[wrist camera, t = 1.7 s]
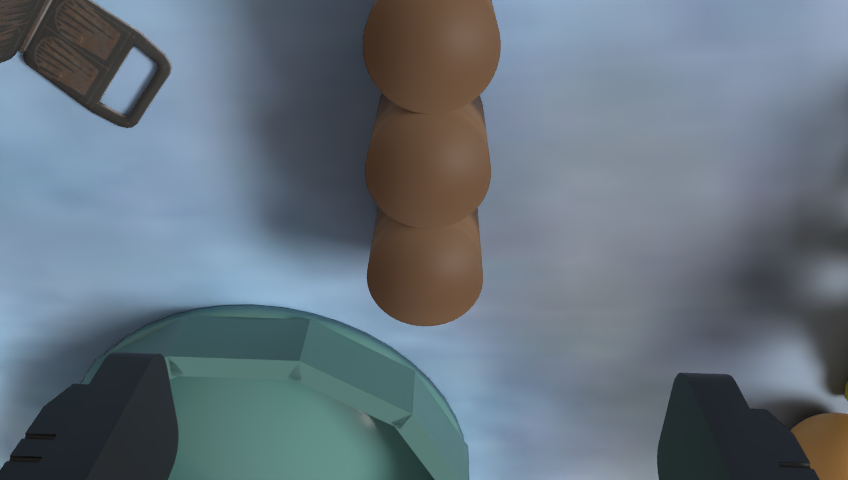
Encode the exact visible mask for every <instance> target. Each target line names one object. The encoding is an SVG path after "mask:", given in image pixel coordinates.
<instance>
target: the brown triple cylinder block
mask: <svg viewBox="0 0 848 480" xmlns="http://www.w3.org/2000/svg"><path fill="white" fill-rule="evenodd" d="M500 45H501V42H500V33H499V29H498V25H497V21H496V17H495V13H494V9H493V5H492V0H375V1H374V4H373V7H372V10H371V12H370V15H369V18H368V20H367V24H366V27H365V30H364V36H363V56H364V60H365V65H366V67H367V70H368V73H369V75H370V77H371V79H372V81H373V82H374V84H375V85H376V86H377V88H378V89H379V90H380V91H381V92H382V93H383V94H382V96H381V99H380V102H379V105H378V110H377V114H376V119H375V123H374V128H373V132H372V137H371V141H370V145H369V150H368V154H367V159H366V164H365V178H366V183H367V187H368V190H369V192H370V194H371V196H372V198H373V200H374V201H375V203H376V204H377V205H378V210H377V216H376V222H375V228H374V234H373V240H372V246H371V252H370V258H369V264H368V270H367V284H368V288H369V291H370V293H371V296H372V298H373V299H374V301H375V302H376V304H377V305H378V306H379V307H380V308H381V309H382V310H383V311H384V312H385V313H387V314H388V315H389V316H391V317H393V318H395V319H396V320H399V321H401V322H404V323H407V324H411V325H416V326H435V325H440V324H445V323H448V322H450V321H453V320H455V319H457V318H459V317H460V316H462V315H463V314H465V313H466V312H467V311H468V310H469V309H470V308H471V307H472V306H473V305H474V303H475V302H476V300H477V299H478V297H479V295H480V292H481V289H482V283H483V271H482V259H481V247H480V234H479V222H478V210H477V207H478V206H479V205H480V204H481V202H482V201H483V199H484V197H485V195H486V193H487V191H488V188H489V184H490V179H491V165H490V157H489V150H488V142H487V134H486V126H485V119H484V111H483V105H482V101H481V98H480V96H479V95H480V94H481V93H482V92H483V91H484V90H485V88H486V87H487V86H488V84H489V83H490V81H491V80H492V78H493V76H494V74H495V71H496V69H497V66H498V62H499V57H500Z"/></svg>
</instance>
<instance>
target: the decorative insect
mask: <svg viewBox="0 0 848 480" xmlns="http://www.w3.org/2000/svg"><path fill="white" fill-rule="evenodd" d="M845 398H846V399H847V401H848V381H847V384H846V387H845Z"/></svg>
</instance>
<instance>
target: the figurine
mask: <svg viewBox="0 0 848 480" xmlns="http://www.w3.org/2000/svg"><path fill="white" fill-rule="evenodd" d="M790 431H791V432H792V433H793V434H794V435H795V437H796V439H797V440H798V442H799V444H800V446H801V447H802V449H803V451H804V453H805V454H806V456H807V458H808V460H809V461H810V467H811V469H814V470H815V472H816V474H817V475H818V477H819V479H820V480H848V414H843V413H823V414H818V415H814V416H811V417H809V418H807V419H805V420H803V421H801V422H800V423H798V424H797V425H796V426H794V427H793V428H792V429H791V430H790Z"/></svg>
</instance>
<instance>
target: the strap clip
mask: <svg viewBox="0 0 848 480" xmlns="http://www.w3.org/2000/svg"><path fill="white" fill-rule="evenodd" d="M134 44H135V45H136V46H137V47H138V48H139V49H141V50H142V51H143V52H144V53H145V54H146V55H148V56H149V57H150V58H151V59H152V60H153V61H155V62H156V64H157V66H158V69H157V72H156V73H155V75H154V77H153V79H152V80H151V82H150V83H149V85H148V86H147V88H146V90H145V91H144V93H143V94H142V96H141V97H140V99H139V100H138V102H137V104H136V105H135V107H134V108H133V110H132V111H131V112H130V114H129V115H123V114H121V113H119V112H117V111H116V110H114V109H112V108H110V107H108V106H106V105H105V104H103V103H101V102H99V101H100V100H101V98H102V96H103V95H104V93H105V92H106V90H107V88H108V87H109V85H110V83H111V82H112V80H113V79H114V77H115V75H116V74H117V72H118V70H119V69H120V67H121V66H122V64H123V62H124V61H125V59H126V57H127V56H128V54H129V53H130V51H131V49H132V48H133V46H134ZM17 51H19V52H22V51H25V52H24V55H23V58H24V61H25V62H26V63H27V65H29V66H30V67H31V68H33V69H34V70H35V71H37V72H38V73H40V74H41V75H42V76H44V77H45V78H46V79H48V80H49V81H50V82H52V83H53V84H54V85H56V86H57V87H59V88H60V89H61V90H63V91H64V92H65V93H67V94H68V95H69V96H71V97H72V98H73V99H75V100H76V101H77V102H79V103H80V104H82V105H83V106H84V107H86V108H87V109H88V110H90V111H91V112H93V113H95V114H97V115H99V116H101V117H102V118H104V119H106V120H108V121H110V122H112V123H114V124H116V125H118V126H121V127H125V128H131V127H133V126H135V125H136V124H137V123H138V122H139V121H140V119H141V118H142V116H143V115H144V113H145V111H146V110H147V108H148V107H149V105H150V104H151V102H152V101H153V99H154V98H155V96H156V95H157V93H158V92H159V90H160V89H161V87H162V85H163V84H164V82H165V81H166V79H167V78H168V76H169V75H170V73H171V69H172V65H171V62H170V60H169V59H168V57H167V56H166V54H164V53H163V52H162V51H161V50H160V49H159V48H158V47H157V46H156V45H155V44H154V43H153V42H151V41H150V40H149V39H148V38H147V37H146V36H145V35H144V34H143V33H142V32H140V31H139V30H137V29H135V28H134V27H132V26H131V25H129V24H128V23H126V22H125V21H123V20H121V19H120V18H118V17H117V16H115V15H114V14H112V13H111V12H109V11H107V10H106V9H104V8H103V7H101V6H100V5H98V4H97V3H95V2H94V1H92V0H0V63H1V62H4V61H7V60H9V59H11V58H12V57H13V56H14V55H15V54H16V53H17Z"/></svg>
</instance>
